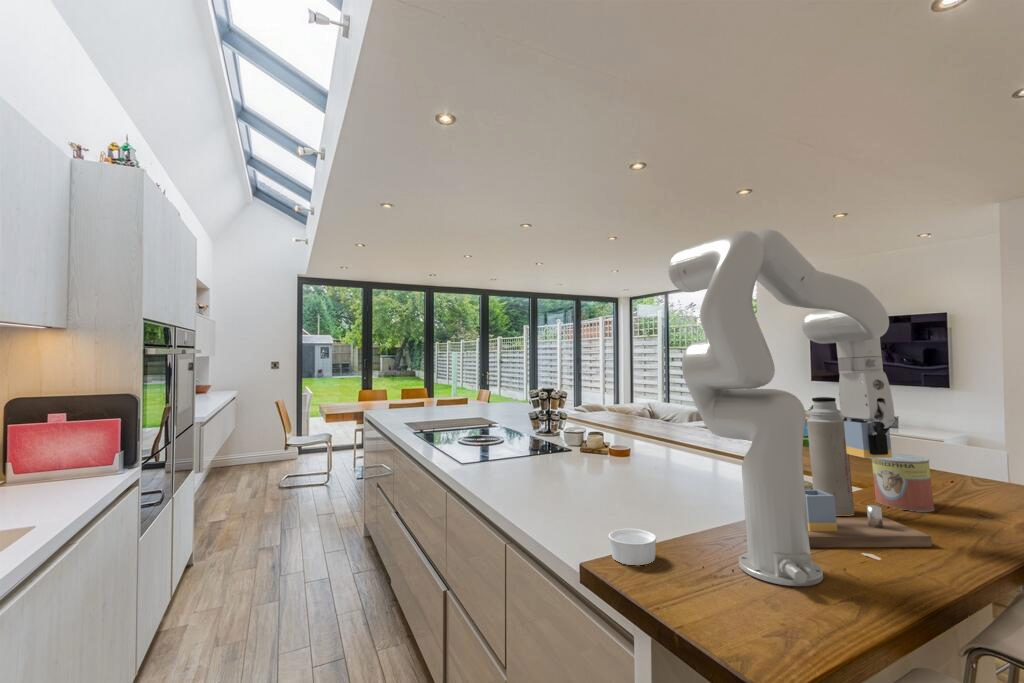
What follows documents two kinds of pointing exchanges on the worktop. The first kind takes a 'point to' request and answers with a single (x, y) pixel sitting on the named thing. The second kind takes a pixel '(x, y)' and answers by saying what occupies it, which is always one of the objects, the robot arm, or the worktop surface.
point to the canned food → (903, 482)
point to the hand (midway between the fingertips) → (868, 451)
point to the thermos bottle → (830, 454)
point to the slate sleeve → (861, 440)
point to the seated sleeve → (820, 511)
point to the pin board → (869, 533)
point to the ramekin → (632, 546)
